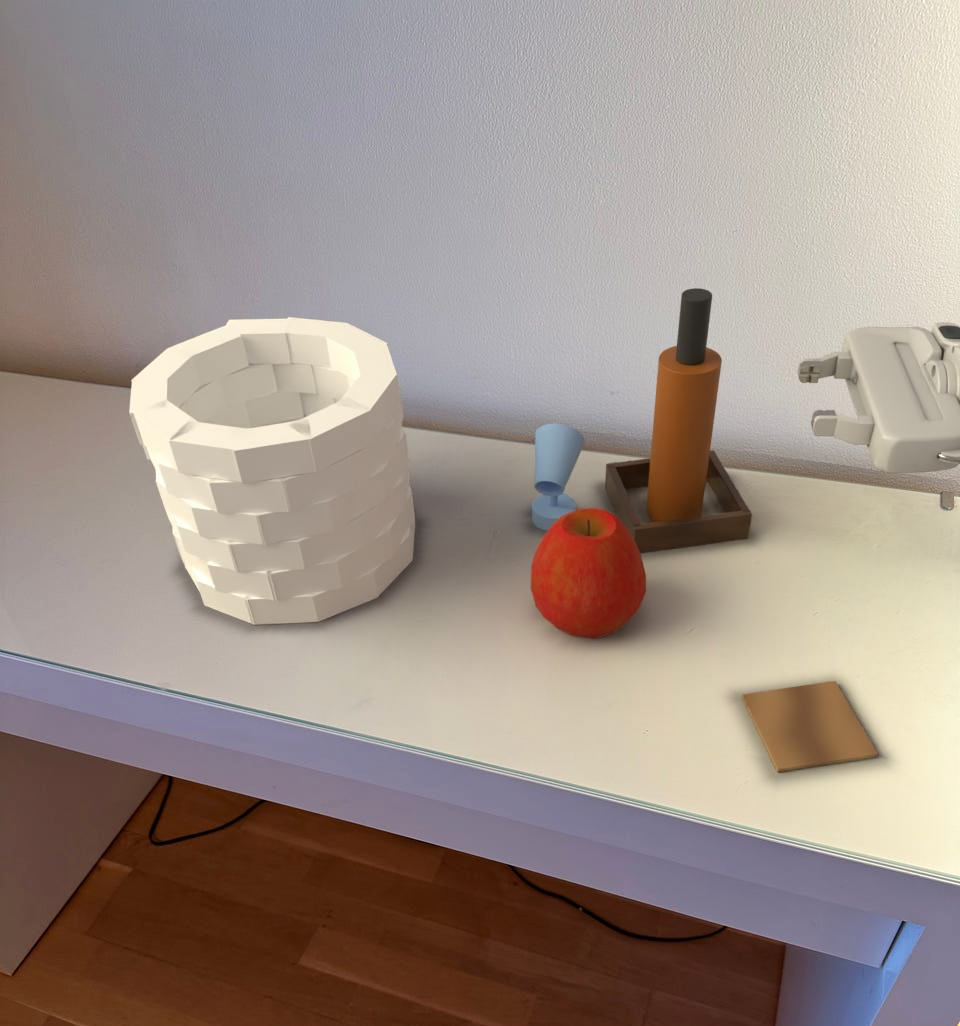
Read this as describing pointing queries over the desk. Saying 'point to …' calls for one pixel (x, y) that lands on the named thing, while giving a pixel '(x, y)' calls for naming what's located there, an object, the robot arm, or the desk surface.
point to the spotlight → (554, 472)
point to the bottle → (684, 415)
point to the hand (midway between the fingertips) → (805, 395)
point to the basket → (280, 465)
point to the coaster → (808, 726)
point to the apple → (588, 574)
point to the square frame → (686, 529)
